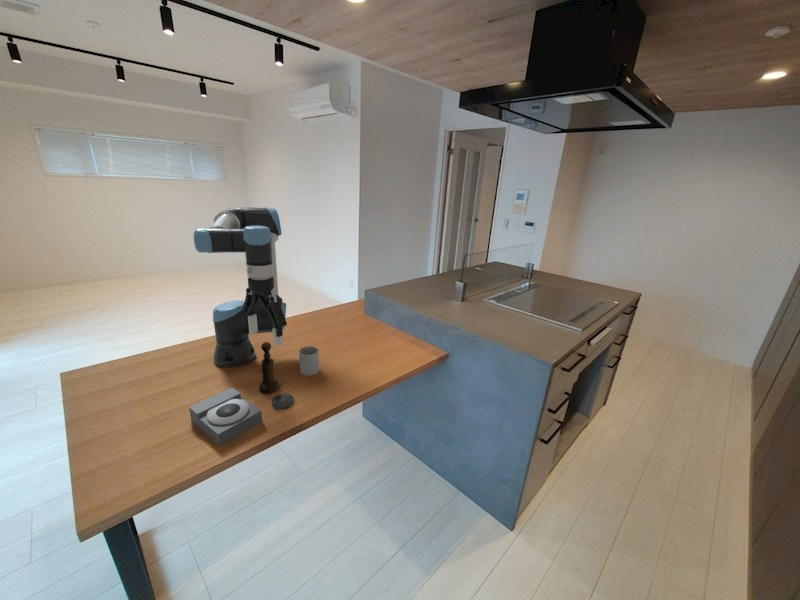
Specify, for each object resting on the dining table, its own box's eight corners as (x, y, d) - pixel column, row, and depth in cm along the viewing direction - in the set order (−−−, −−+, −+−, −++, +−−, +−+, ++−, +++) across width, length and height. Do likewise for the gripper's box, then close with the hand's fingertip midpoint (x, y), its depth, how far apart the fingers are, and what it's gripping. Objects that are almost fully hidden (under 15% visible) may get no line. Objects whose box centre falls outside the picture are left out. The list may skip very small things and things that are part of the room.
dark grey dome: (267, 403, 109) (266, 400, 109) (285, 393, 115) (284, 390, 115) (280, 412, 106) (280, 409, 105) (298, 401, 111) (298, 398, 111)
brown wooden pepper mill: (273, 381, 122) (269, 336, 116) (283, 388, 118) (280, 342, 112) (256, 389, 117) (251, 342, 111) (265, 396, 113) (261, 349, 107)
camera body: (191, 421, 100) (188, 406, 98) (233, 400, 110) (231, 387, 108) (219, 446, 91) (217, 430, 89) (262, 421, 101) (261, 407, 100)
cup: (304, 378, 125) (303, 357, 122) (293, 366, 132) (292, 346, 129) (322, 372, 129) (321, 352, 126) (310, 361, 136) (310, 342, 133)
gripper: (227, 271, 108) (234, 331, 114) (274, 287, 94) (279, 354, 101) (248, 268, 113) (254, 325, 120) (296, 282, 100) (299, 346, 107)
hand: (265, 338), depth 111 cm, fingers open, 13 cm apart
